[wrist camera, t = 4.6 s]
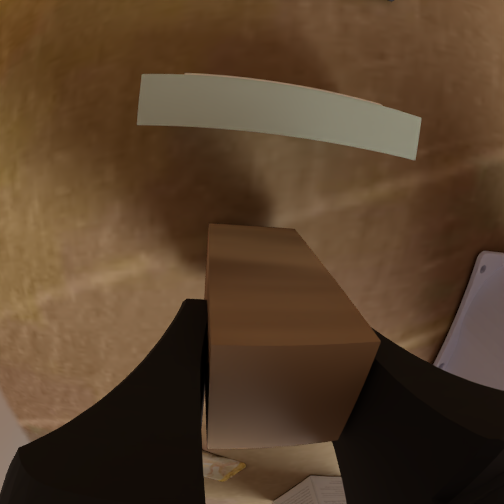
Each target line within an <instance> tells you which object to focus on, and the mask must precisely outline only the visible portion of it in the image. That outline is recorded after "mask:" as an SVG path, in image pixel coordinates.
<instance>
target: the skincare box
mask: <svg viewBox="0 0 504 504" xmlns="http://www.w3.org/2000/svg"><path fill="white" fill-rule="evenodd" d="M272 504H347V503H346V497H345V492H344V487H343V483H342V478H341V477H327V476H309V477H308V478H306V479H305V480H304V481H302V482H301V483H299V484H298V485H297V486H295V487H294V488H292V489H291V490H289V491H288V492H286V493H285V494H283V495H282V496H280V497H279V498H277V499H276V500H274V501H273V502H272Z"/></svg>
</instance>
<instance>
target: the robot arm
mask: <svg viewBox="0 0 504 504" xmlns="http://www.w3.org/2000/svg"><path fill="white" fill-rule="evenodd" d="M207 320H208V310H207V300H201V299H186V300H185V301H183V303H182V305H181V307H180V309H179V311H178V313H177V315H176V316H175V318H174V320H173V321H172V323H171V324H170V326H169V327H168V329H167V330H166V332H165V333H164V335H163V336H162V337H161V339H160V340H159V341H158V343H157V344H156V345H155V346H154V348H153V349H152V350H151V351H150V352H149V354H148V355H147V356H146V357H145V359H144V360H143V361H142V362H141V363H140V364H139V365H138V366H137V367H136V368H135V369H134V370H133V371H132V372H131V373H130V374H129V375H128V376H127V377H126V378H125V379H124V380H123V381H122V382H121V383H120V384H119V385H118V386H116V387H115V388H114V389H113V390H112V391H111V392H109V393H108V394H107V395H106V396H105V397H103V398H102V399H101V400H100V401H98V402H97V403H96V404H94V405H93V406H92V407H90V408H89V409H87V410H86V411H84V412H83V413H81V414H80V415H78V416H77V417H75V418H74V419H72V420H71V421H70V422H68V423H66V424H65V425H63V426H61V427H60V428H58V429H56V430H54V431H52V432H51V433H49V434H47V435H45V436H43V437H41V438H39V439H37V440H35V441H33V442H31V443H28V444H26V445H24V446H22V447H19V448H18V450H17V452H16V454H15V456H14V458H13V460H12V462H11V464H10V466H9V469H8V472H7V474H6V477H5V480H4V483H3V486H2V490H1V493H0V504H205V491H204V475H203V458H202V435H201V427H202V416H203V404H204V394H205V368H206V342H207ZM372 330H373V331H374V333H375V334H376V335H377V337H378V338H379V339H380V341H381V342H380V345H379V348H378V350H377V353H376V356H375V358H374V361H373V363H372V366H371V368H370V371H369V373H368V375H367V378H366V380H365V383H364V385H363V387H362V389H361V392H360V394H359V396H358V399H357V401H356V403H355V405H354V407H353V410H352V412H351V414H350V416H349V418H348V420H347V422H346V424H345V426H344V428H343V430H342V432H341V434H340V436H339V438H338V440H335V441H332V443H333V446H334V449H335V453H336V457H337V461H338V465H339V469H340V473H341V478H342V483H343V487H344V492H345V497H346V503H347V504H504V253H501V252H492V251H482V252H481V253H480V254H479V255H478V257H477V260H476V263H475V266H474V269H473V272H472V275H471V278H470V280H469V283H468V286H467V289H466V291H465V294H464V297H463V299H462V302H461V304H460V307H459V309H458V312H457V314H456V316H455V319H454V321H453V323H452V326H451V328H450V330H449V333H448V335H447V337H446V339H445V341H444V343H443V346H442V348H441V350H440V352H439V354H438V356H437V358H436V360H435V362H434V364H433V365H432V364H430V363H428V362H426V361H424V360H422V359H420V358H418V357H417V356H415V355H413V354H411V353H410V352H408V351H406V350H405V349H403V348H402V347H400V346H398V345H397V344H395V343H393V342H392V341H390V340H389V339H387V338H386V337H384V336H383V335H381V334H380V333H378V332H377V331H376V330H374V329H373V328H372Z"/></svg>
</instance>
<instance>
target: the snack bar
mask: <svg viewBox="0 0 504 504" xmlns="http://www.w3.org/2000/svg"><path fill="white" fill-rule="evenodd" d="M202 458H203V475H204V477H207V478H211V479H214V480H218V481H221V482H222V481H225V480H227V479H228V478H230V477H231V478H232V477H233V475H236V473H239V471H241V470H242V469H244V468H245V467H246V464H245V463H242V462H239V461H236V460H233V459H229V458H226V457H222V456H217V455H215V454H212V453H210V452H207V451H204V450H202Z"/></svg>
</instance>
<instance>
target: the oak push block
mask: <svg viewBox="0 0 504 504" xmlns="http://www.w3.org/2000/svg"><path fill="white" fill-rule="evenodd" d="M204 300H207V310H208V320H207V342H206V368H205V402H206V430H207V449H250V448H270V447H283V446H295V445H304V444H313V443H321V442H328V441H335V440H338V438H339V436H340V434H341V432H342V430H343V428H344V426H345V424H346V422H347V420H348V418H349V416H350V414H351V412H352V410H353V407H354V405H355V403H356V401H357V399H358V396H359V394H360V392H361V389H362V387H363V385H364V383H365V380H366V378H367V375H368V373H369V371H370V368H371V366H372V363H373V361H374V358H375V356H376V353H377V350H378V348H379V345H380V342H381V341H380V339H379V338H378V337H377V335H376V334H375V333H374V331H373V330H372V328H371V327H370V326H369V324H368V323H367V322H366V320H365V319H364V318H363V316H362V315H361V314H360V312H359V311H358V310H357V308H356V307H355V306H354V304H353V303H352V302H351V300H350V299H349V298H348V296H347V295H346V294H345V292H344V291H343V290H342V289H341V287H340V286H339V285H338V283H337V282H336V281H335V279H334V278H333V277H332V276H331V274H330V273H329V272H328V270H327V269H326V268H325V267H324V265H323V264H322V263H321V261H320V260H319V259H318V258H317V256H316V255H315V254H314V253H313V251H312V250H311V249H310V248H309V246H308V245H307V244H306V242H305V241H304V240H303V239H302V237H301V236H300V235H299V234H298V232H297V231H296V230H295V229H288V228H274V227H260V226H245V225H230V224H214V223H209V230H208V244H207V261H206V278H205V298H204Z"/></svg>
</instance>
